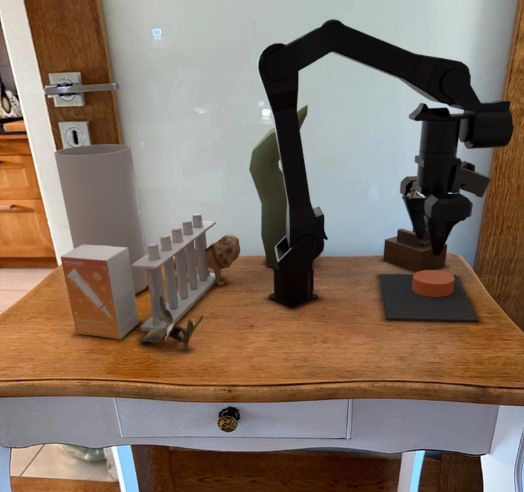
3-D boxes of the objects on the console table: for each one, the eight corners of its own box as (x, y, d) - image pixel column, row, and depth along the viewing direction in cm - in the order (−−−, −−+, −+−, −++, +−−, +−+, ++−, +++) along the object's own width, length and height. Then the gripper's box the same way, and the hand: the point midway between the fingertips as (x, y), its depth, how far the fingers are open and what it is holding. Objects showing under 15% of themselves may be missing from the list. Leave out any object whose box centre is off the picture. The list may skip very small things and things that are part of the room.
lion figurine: (242, 275, 109) (240, 230, 104) (241, 285, 104) (238, 238, 100) (168, 277, 109) (163, 232, 105) (163, 287, 104) (157, 241, 100)
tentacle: (307, 271, 109) (307, 106, 95) (247, 268, 112) (239, 107, 98) (315, 256, 117) (316, 102, 103) (259, 254, 120) (253, 103, 106)
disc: (419, 285, 93) (460, 282, 94) (408, 270, 100) (446, 268, 100) (418, 298, 95) (458, 296, 95) (407, 283, 101) (445, 281, 101)
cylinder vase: (151, 295, 101) (131, 152, 89) (81, 304, 98) (50, 158, 87) (148, 273, 112) (129, 142, 100) (84, 280, 109) (57, 147, 98)
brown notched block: (419, 274, 106) (423, 238, 103) (383, 260, 113) (385, 227, 110) (444, 266, 109) (449, 232, 106) (407, 253, 117) (410, 221, 113)
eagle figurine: (211, 329, 85) (167, 307, 89) (197, 304, 79) (150, 282, 82) (183, 368, 83) (139, 345, 86) (166, 346, 76) (119, 322, 80)
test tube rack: (166, 333, 87) (155, 252, 80) (140, 331, 88) (127, 251, 82) (220, 277, 108) (215, 209, 101) (199, 275, 109) (193, 208, 103)
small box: (75, 335, 88) (58, 256, 81) (97, 318, 93) (83, 243, 87) (120, 340, 85) (106, 259, 79) (140, 323, 91) (128, 246, 84)
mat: (478, 322, 86) (478, 319, 86) (386, 320, 88) (386, 317, 88) (455, 276, 104) (455, 274, 104) (379, 275, 106) (379, 273, 105)
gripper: (515, 157, 79) (497, 262, 86) (467, 140, 95) (455, 229, 102) (437, 161, 78) (426, 266, 86) (402, 143, 95) (395, 232, 102)
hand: (427, 246), depth 94 cm, fingers open, 9 cm apart
